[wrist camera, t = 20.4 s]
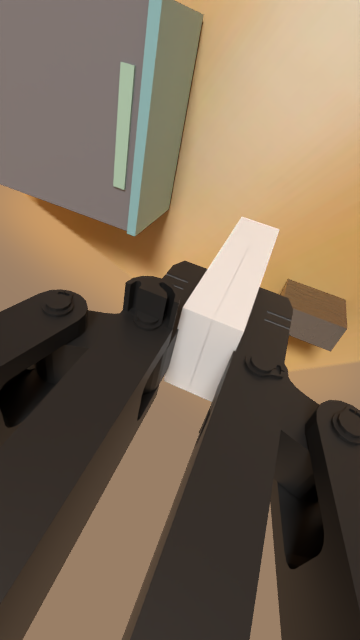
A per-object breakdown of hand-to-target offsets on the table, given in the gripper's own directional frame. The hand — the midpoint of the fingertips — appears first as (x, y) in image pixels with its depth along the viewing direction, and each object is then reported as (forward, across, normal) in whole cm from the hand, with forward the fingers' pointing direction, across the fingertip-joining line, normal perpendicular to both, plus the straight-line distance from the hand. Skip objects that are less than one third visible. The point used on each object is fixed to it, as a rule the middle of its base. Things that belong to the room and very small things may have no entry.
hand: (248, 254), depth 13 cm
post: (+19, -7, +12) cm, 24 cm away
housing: (+19, +20, 0) cm, 28 cm away
